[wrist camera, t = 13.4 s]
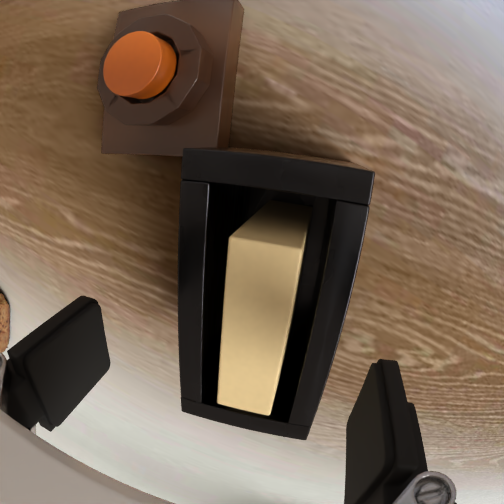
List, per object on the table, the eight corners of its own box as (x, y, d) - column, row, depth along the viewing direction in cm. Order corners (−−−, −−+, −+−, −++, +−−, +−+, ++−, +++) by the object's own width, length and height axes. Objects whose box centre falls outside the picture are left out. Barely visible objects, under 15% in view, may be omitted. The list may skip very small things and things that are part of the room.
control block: (135, 20, 17) (102, 4, 13) (244, 8, 15) (225, -19, 12) (120, 151, 20) (82, 155, 16) (228, 158, 19) (204, 160, 15)
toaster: (238, 147, 18) (181, 147, 11) (354, 162, 17) (375, 171, 10) (223, 338, 23) (181, 411, 16) (316, 357, 22) (306, 440, 14)
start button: (125, 43, 14) (107, 36, 12) (181, 35, 13) (166, 26, 12) (118, 101, 15) (99, 98, 14) (173, 98, 15) (156, 93, 13)
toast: (269, 199, 18) (228, 236, 11) (312, 206, 18) (302, 249, 10) (254, 320, 21) (216, 404, 13) (291, 327, 20) (269, 416, 13)
